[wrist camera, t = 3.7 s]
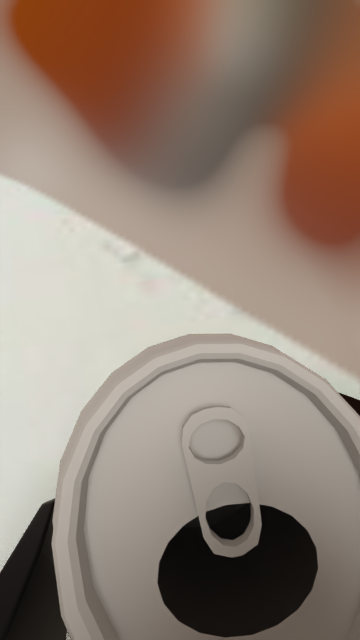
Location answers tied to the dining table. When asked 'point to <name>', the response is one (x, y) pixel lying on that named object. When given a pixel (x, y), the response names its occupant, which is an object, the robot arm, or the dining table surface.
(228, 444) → the can
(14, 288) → the dining table surface
